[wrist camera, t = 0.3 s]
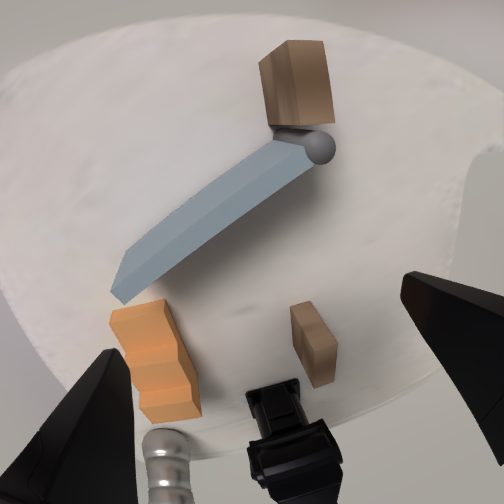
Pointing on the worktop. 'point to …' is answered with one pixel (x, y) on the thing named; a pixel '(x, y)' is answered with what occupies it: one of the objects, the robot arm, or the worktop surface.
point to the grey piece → (220, 206)
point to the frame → (301, 113)
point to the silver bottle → (167, 467)
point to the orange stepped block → (157, 362)
